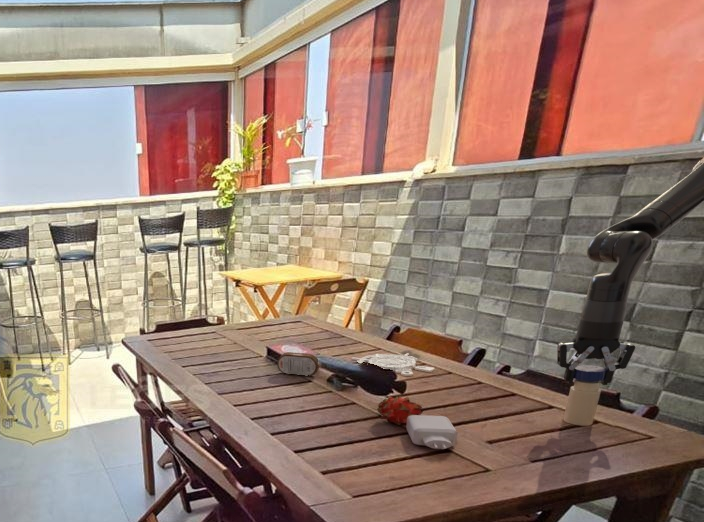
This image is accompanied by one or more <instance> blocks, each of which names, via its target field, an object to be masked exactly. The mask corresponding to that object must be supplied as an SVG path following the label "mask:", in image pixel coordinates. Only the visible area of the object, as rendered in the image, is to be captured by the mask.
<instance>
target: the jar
mask: <svg viewBox="0 0 704 522" xmlns="http://www.w3.org/2000/svg"><path fill="white" fill-rule="evenodd" d="M573 382H574V383H573V385H572V386H570V388H569V393H568V397H567V401H566V406H565V410H564V414H563V418H562V420H563V422H565V423H567V424H570V425H574V426H579V427H580V426H582V427H583V426H584V427H585V426H586V427H587V426H592V425H593V423H594V420H595V416H596V412H597V409H598V404H599V400H600V397H601V393H602V389H600V386H601V383H600V381H583V380H578V379H574V380H573Z"/></svg>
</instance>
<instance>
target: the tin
mask: <svg viewBox="0 0 704 522" xmlns="http://www.w3.org/2000/svg"><path fill="white" fill-rule="evenodd" d="M318 360H319V359H318V357H317V356H315V355H314V354H311V353H305V352H303V353H302V352H293V351H292V352H291V351H288V352H283V353H282V354H281V355H280V356H279V358H278V359H277V362H276V365H277V369H278V370H279V371H280V373H282V374H284V373H289V374H299V375H309V376H308V377H312V376H313V375H315V374H316V373H317V372H318V371H319V370H320V366H321V365H320V366H319V365H318Z"/></svg>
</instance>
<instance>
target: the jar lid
mask: <svg viewBox="0 0 704 522" xmlns="http://www.w3.org/2000/svg"><path fill="white" fill-rule="evenodd" d="M605 368H606V367H602V366H599V365H591V364H579V365H578V366H577V367H576V368H575V369H574V370H575V375H574V379H573V380H575V379H578V380H583V381H602V380H604V378H605V374H606V369H605Z"/></svg>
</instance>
